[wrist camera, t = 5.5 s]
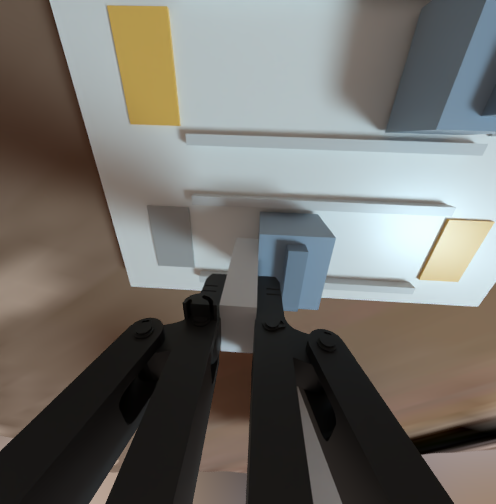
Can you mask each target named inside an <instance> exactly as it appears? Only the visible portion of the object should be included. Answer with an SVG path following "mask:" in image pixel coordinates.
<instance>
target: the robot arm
mask: <svg viewBox="0 0 496 504" xmlns="http://www.w3.org/2000/svg"><path fill="white" fill-rule="evenodd" d="M258 246H259V239H252V238H236V242H235V246H234V250H233V254H232V258H231V261H230V265H229V269H228V273H227V274H213V273H212V274H211V275H210V276H209V277H208V278H206V281H205V283H204V286H203V288H202V291H201V293H199V294H194V295H191V296H190V297H188V298H186V299H185V301H184V302H183V310H184V317H185V319H184V320H183V321H180V322H177V323H173V324H167V325H163V324H162V322H161V321H160V320H158V319H156V318H146V319H142V320H139V321H137V322H135V323H134V324H133V325H131V326H130V327H129V328H128V329H127V330H126V331H125V332H124V333H123V334H122V335H121V336H119V337H118V338H117V339H116V340H115V341H114V342H113V343H112V344H111V345H110V346H109V347H108V348H107V349H106V350H105V351H104V352H103V353H102V354H101V355H100V356H99V357H98V358H97V359H96V360H95V361H94V362H92V363H91V364H90V365H89V366H88V367H87V368H86V369H85V370H84V371H83V372H82V373H81V374H80V375H79V376H78V377H77V378H76V379H75V380H74V381H73V382H72V383H71V384H70V385H69V386H68V387H66V388H65V389H64V390H63V391H62V392H61V393H60V394H59V395H58V396H57V397H56V398H55V399H54V400H53V401H52V402H51V403H50V404H49V405H48V406H47V407H46V408H45V409H44V410H43V411H42V412H41V413H39V414H38V415H37V416H36V417H35V418H34V419H33V420H32V421H31V422H30V423H29V424H28V425H27V426H26V427H25V428H24V429H23V430H22V431H21V432H20V433H19V434H18V435H17V436H16V437H15V438H14V439H12V440H11V441H10V442H9V443H8V444H7V445H6V446H5V447H4V448H3V449H2V450H1V451H0V504H89V503H90V501H91V500H92V498H93V497H94V495H95V493H96V492H97V490H98V489H99V487H100V486H101V484H102V482H103V481H104V479H105V478H106V476H107V475H108V473H109V472H110V470H111V469H112V467H113V465H114V464H115V462H116V461H117V459H118V458H119V456H120V454H121V453H122V451H123V450H124V448H125V447H126V445H127V444H128V442H129V440H130V439H131V437H132V436H133V434H134V433H135V431H136V430H137V431H136V434H135V436H134V438H133V441H132V443H131V445H130V448H129V450H128V452H127V455H126V457H125V459H124V462H123V464H122V466H121V468H120V471H119V473H118V476H117V478H116V480H115V483H114V485H113V487H112V489H111V492H110V494H109V496H108V499H107V501H106V504H192V502H193V497H194V492H195V487H196V482H197V476H198V471H199V466H200V461H201V455H202V450H203V445H204V440H205V434H206V429H207V424H208V418H209V413H210V408H211V403H212V397H213V392H214V387H215V382H216V376H217V371H218V366H219V351H220V346H221V351H228V352H241V353H253V360H252V374H251V376H252V379H251V401H250V423H249V445H248V467H247V489H246V504H313V498H312V491H311V483H310V476H309V469H308V462H307V455H306V448H305V441H304V434H303V427H302V420H301V412H300V405H299V398H298V391H297V386H298V387H299V390H300V393H301V396H302V398H303V401H304V404H305V406H306V409H307V411H308V414H309V417H310V419H311V422H312V425H313V427H314V430H315V433H316V435H317V438H318V441H319V443H320V446H321V449H322V451H323V454H324V456H325V459H326V462H327V464H328V467H329V470H330V472H331V475H332V478H333V480H334V483H335V486H336V488H337V491H338V494H339V496H340V499H341V501H342V504H454V503H453V501H452V500H451V498H450V497H449V495H448V494H447V492H446V491H445V490H444V488H443V487H442V485H441V484H440V482H439V481H438V479H437V478H436V476H435V475H434V473H433V472H432V471H431V469H430V467H429V466H428V465H427V463H426V462H425V460H424V459H423V458H422V456H421V454H420V453H419V451H418V450H417V448H416V447H415V446H414V444H413V443H412V441H411V440H410V438H409V437H408V435H407V434H406V432H405V431H404V429H403V428H402V427H401V425H400V424H399V422H398V421H397V419H396V418H395V416H394V415H393V413H392V412H391V411H390V409H389V408H388V406H387V405H386V403H385V402H384V400H383V399H382V397H381V396H380V394H379V393H378V392H377V390H376V389H375V387H374V386H373V384H372V383H371V381H370V380H369V378H368V377H367V375H366V374H365V373H364V371H363V370H362V368H361V367H360V365H359V364H358V362H357V361H356V359H355V358H354V356H353V355H352V354H351V352H350V351H349V349H348V348H347V346H346V345H345V343H344V342H343V341H342V339H341V338H340V337H339V336H338V335H336V334H335V333H333V332H331V331H328V330H325V329H317V330H314V331H312V332H311V333H310V334H306V333H303V332H300V331H298V330H296V329H294V328H292V327H291V326H290V325H289V324H288V323H287V321H286V320H285V317H284V311H283V303H282V296H281V288H280V282H279V281H278V280H277V278H276V277H271V276H258ZM138 426H139V427H138ZM137 428H138V429H137Z"/></svg>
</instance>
